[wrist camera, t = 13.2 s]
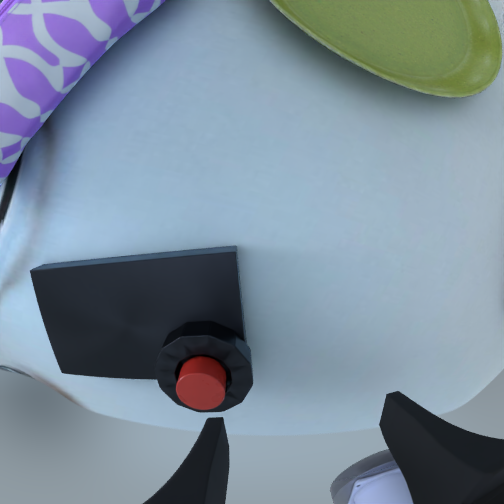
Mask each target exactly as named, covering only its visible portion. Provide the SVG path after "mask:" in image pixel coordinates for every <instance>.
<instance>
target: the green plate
mask: <svg viewBox="0 0 504 504" xmlns="http://www.w3.org/2000/svg"><path fill="white" fill-rule="evenodd" d="M269 1H270V2H271V3H272V4H273V5H274V6H275V7H276V8H277V9H278V10H279V11H280V12H281V13H282V14H283V15H284V16H285V17H286V18H288V19H289V20H290V21H291V22H292V23H293V24H295V25H296V26H297V27H299V28H300V29H301V30H302V31H304V32H305V33H306V34H308V35H309V36H310V37H312V38H313V39H314V40H316V41H317V42H319V43H320V44H322V45H323V46H325V47H326V48H328V49H329V50H331V51H332V52H334V53H336V54H337V55H339V56H340V57H342V58H344V59H346V60H347V61H349V62H351V63H353V64H355V65H357V66H358V67H360V68H362V69H364V70H366V71H368V72H370V73H372V74H374V75H376V76H378V77H381V78H383V79H385V80H388V81H390V82H392V83H395V84H398V85H400V86H403V87H406V88H409V89H412V90H415V91H418V92H421V93H425V94H429V95H434V96H440V97H449V98H460V97H468V96H472V95H475V94H478V93H480V92H482V91H484V90H485V89H486V88H487V87H489V86H490V85H491V84H492V82H493V81H494V80H495V78H496V77H497V75H498V72H499V69H500V65H501V60H502V41H501V35H500V31H499V27H498V23H497V20H496V18H495V15H494V13H493V10H492V8H491V6H490V4H489V2H488V0H269Z"/></svg>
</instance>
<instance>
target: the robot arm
mask: <svg viewBox="0 0 504 504" xmlns="http://www.w3.org/2000/svg"><path fill="white" fill-rule="evenodd" d="M379 425H380V428H381V431H382V434H383V436H384V439H385V442H386V444H387V446H388V448H389V450H390V452H391V454H392V455H393V457H394V459H395V461H396V463H397V465H398V467H399V468H396V469H393V470H390V471H387V472H384V473H381V474H377V475H374V476H370V477H367V478H363V479H359V480H357V481H355V483H354V486H353V489H352V492H351V495H350V498H349V501H348V504H504V439H497V438H491V437H486V436H482V435H479V434H476V433H472V432H469V431H466V430H464V429H462V428H459V427H457V426H454V425H452V424H450V423H448V422H446V421H444V420H443V419H441V418H439V417H437V416H436V415H434V414H432V413H431V412H429V411H427V410H426V409H424V408H423V407H421V406H420V405H418V404H417V403H415V402H414V401H412V400H411V399H409V398H408V397H407V396H405V395H404V394H402V393H401V392H399V391H396V392H393V393H389V394H386V399H385V403H384V408H383V412H382V416H381V420H380V424H379ZM228 474H229V444H228V439H227V434H226V429H225V424H224V419H223V417H216V418H208V419H207V420H206V422H205V425H204V427H203V429H202V431H201V433H200V435H199V437H198V439H197V441H196V443H195V444H194V446H193V448H192V449H191V451H190V453H189V454H188V456H187V457H186V459H185V460H184V461H183V463H182V464H181V466H180V467H179V468H178V470H177V471H176V472H175V473H174V475H173V476H172V477H171V478H170V479H169V480H168V481H167V483H166V484H165V485H164V486H163V487H162V488H161V489H159V490H158V491H157V492H156V493H155V494H154V495H153V496H152V497H151V498H149V499H148V500H147V501H146V502H144V503H143V504H225V500H226V491H227V483H228Z"/></svg>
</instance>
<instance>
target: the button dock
mask: <svg viewBox="0 0 504 504" xmlns="http://www.w3.org/2000/svg"><path fill="white" fill-rule="evenodd" d="M30 273H31V278H32V282H33V286H34V290H35V294H36V298H37V302H38V305H39V309H40V312H41V316H42V319H43V322H44V325H45V328H46V331H47V334H48V337H49V340H50V343H51V346H52V349H53V351H54V354H55V357H56V359H57V362H58V365H59V367H60V370H61V372H62V373H65V374H74V375H84V376H95V377H108V378H126V379H157V380H158V383H159V386H160V388H161V389H162V390H163V391H164V392H165V393H166V394H167V395H168V396H169V397H170V398H171V399H172V400H173V401H174V402H175V403H177V404H178V405H180V406H183V407H185V408H188V409H191V410H193V411H196V412H222V411H225V410H227V409H229V408H232V407H234V406H236V405H238V404H240V403H242V401H243V400H244V398H245V397H246V395H247V394H248V392H249V390H250V389H251V387H252V386H253V371H252V360H251V351H250V348H249V347H248V345H247V343H246V334H245V325H244V315H243V306H242V296H241V287H240V277H239V267H238V257H237V247H236V246H226V247H215V248H205V249H194V250H183V251H173V252H162V253H152V254H141V255H131V256H121V257H111V258H101V259H91V260H81V261H71V262H62V263H52V264H43V265H41V266H39V267H36V268H34V269H32V270H30ZM196 356H206V357H210V358H213V359H215V360H216V361H218V362H219V363H220V364H221V365H222V366H223V367H224V369H225V371H226V389H225V398H224V400H223V401H222V403H221V404H220V405H218V406H217V407H215V408H212V409H208V410H199V409H195V408H192V407H189V406H188V405H186V404H184V403H183V402H182V401H181V400H180V398H179V397H178V395H177V392H176V384H177V381H178V378H179V375H180V371H181V368H182V366H183V364H184V363H185V362H186V361H187V360H188V359H190V358H193V357H196Z"/></svg>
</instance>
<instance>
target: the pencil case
mask: <svg viewBox="0 0 504 504" xmlns="http://www.w3.org/2000/svg"><path fill="white" fill-rule="evenodd" d="M164 1H165V0H3V2H2V3H1V4H0V186H1V185H2V183H3V181H4V180H5V178H6V177H7V176H8V175H9V173H10V172H11V170H12V169H13V167H14V165H15V163H16V162H17V160H18V158H19V156H20V154H21V153H22V151H23V149H24V147H25V145H26V144H27V143H28V141H29V140H30V139H31V138H32V137H33V136H34V134H35V133H36V132H37V131H38V130H39V128H40V127H41V126H42V125H43V123H44V122H45V121H46V119H47V118H48V117H49V116H50V114H51V113H52V112H53V111H54V109H55V108H56V107H57V106H58V105H59V103H60V102H61V101H62V100H63V99H64V97H65V96H66V95H67V94H68V93H69V91H70V90H71V89H72V88H73V87H74V86H75V85H76V84H77V82H78V81H79V80H80V79H81V78H82V76H83V75H84V74H85V73H86V72H87V71H88V70H89V69H90V68H91V67H92V66H93V65H94V64H95V63H96V61H97V60H98V59H99V58H100V57H101V56H102V55H103V54H104V53H105V52H106V51H107V50H108V49H109V48H110V47H111V46H112V45H113V44H114V43H115V42H116V41H117V40H118V39H120V38H121V37H122V36H123V35H124V34H126V33H127V32H128V31H129V30H130V29H132V28H133V27H134V26H135V25H136V24H137V23H139V22H140V21H141V20H143V19H144V18H145V17H147V16H148V15H149V14H150V13H151V12H153V11H154V10H155V9H156V8H158V7H159V6H160V5H161V4H162V3H163V2H164Z"/></svg>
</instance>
